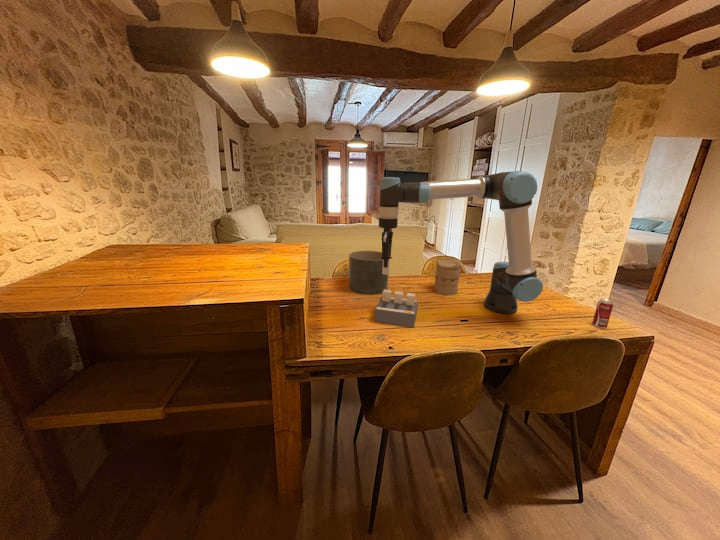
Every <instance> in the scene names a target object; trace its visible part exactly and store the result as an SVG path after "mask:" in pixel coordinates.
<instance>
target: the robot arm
mask: <svg viewBox="0 0 720 540" xmlns="http://www.w3.org/2000/svg"><path fill="white" fill-rule="evenodd" d="M379 185H380V187H379V208H378V209H377V211H378V212H379V213H378V216H379V218H378V227H379V228H380V229H383V231H382V232H381V238H380V239H381V252H382V258H381V259H383V267H382V274H385V275H390V263H391V262H390V261H391V259H393V257H392V245H393V238H394V237H393V236H394V232H393V229H396V228H398V223H399V222H398V217H399V207H400V206H399V203H402V204H403V203H408V204H409V203H411V204H412V203H413V204H416V203H417V204H427V203H429V201H430V200H441V199H458V198H475V197H476V198H477V199H479V200H480V199H485V200H486V199H488V200H495V201H498V206H499V209H500V210H501V211H502V212H503V213H504V215H503V216H504V225H505V226H504V227H505V237H506V238H505V239H506V246H507V248H506V249H507V260H508V261H497V262H495V263H494V264H493V268H492V274H491V282H490V287H489V291H488V293H487V295H486V297H485V299H484V301H483V307H484V308H485V309H487V310H488V311H491V312H494V313H498V314H505V315H507V314H508V315H509V314H516V312H518V306H519V305H518V301H520V302H524V303H528V302H532V301H534V300H536V299H537V298H538V297H539V296H540V295H541V293H543V290H544V284H543V282H542V281H541V279H540V278H538V274H537V273H538V272H537V267H536V266H535V265H533V264H532V263H533V262H532V248H531V246H532V245H531V233H530V219H529V208H530V207H531V206H532V205H533V199H534V198H535V195H536V194H537V192H538V182H537V179H536V178H535V176H534V175H533V174H531V173H530V172H527V171H523V170H513V171H502V172H498V173H497V172H496V173H492V174H489V175H488V174H486V175H480V176H478V177H477V178H466V179H448V180H435V181H433V180H432V181H419V182H417V181H416V182H401V178H400V177H399V176H397V177H396V176H395V177H394V176H383V177H381V178H380V184H379ZM389 258H390V259H389Z"/></svg>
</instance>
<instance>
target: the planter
mask: <svg viewBox="0 0 720 540" xmlns="http://www.w3.org/2000/svg"><path fill="white" fill-rule="evenodd" d="M348 256H349V257H348V286H349V290H350V291H351V292H354V293H356V294H359V295H366V296H370V295H371V296H374V295H380V294H383V290H384V289H386V290H388V287H389V285H388V284H389V275H390V274H389V275H385V274H382V267H383V259H381V258H382V251H377V250H358V251H357V250H356V251H353V252H350V253H349V255H348ZM389 259H390V258H389ZM390 260H391V259H390Z"/></svg>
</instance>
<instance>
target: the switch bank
mask: <svg viewBox="0 0 720 540" xmlns="http://www.w3.org/2000/svg"><path fill="white" fill-rule="evenodd" d="M406 299H407V298H403V302H402V304H397V303H394V296H391V300H390V302H385V301H382V297H380V300H379V301H378V303H377V304H376V307H375V309H374V323H379V324H385V325H392V326H400V327H406V328H415V324H416V319H417V315H418V308H419V300H417V299H415V304H414V306H409V305H406Z"/></svg>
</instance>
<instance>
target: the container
mask: <svg viewBox="0 0 720 540" xmlns="http://www.w3.org/2000/svg"><path fill="white" fill-rule="evenodd" d="M461 267H462V263H461V262H460V261H457V260H453V259H448V258H447V259H438V260H437V261H436V269H435V277H434V286H433V287H434V292H435V293H437V294H439V295H443V296H456V295H457V294H458V290H459V281H460V276H461Z"/></svg>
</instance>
